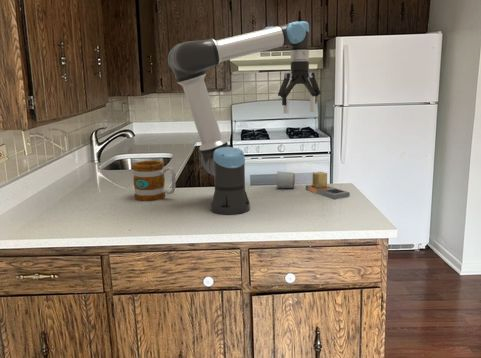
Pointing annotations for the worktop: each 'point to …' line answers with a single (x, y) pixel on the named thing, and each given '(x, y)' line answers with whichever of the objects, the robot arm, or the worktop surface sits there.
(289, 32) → the robot arm
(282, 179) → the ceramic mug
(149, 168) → the mug
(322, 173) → the block
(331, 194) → the grey slotted board
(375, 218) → the worktop surface
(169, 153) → the worktop surface
